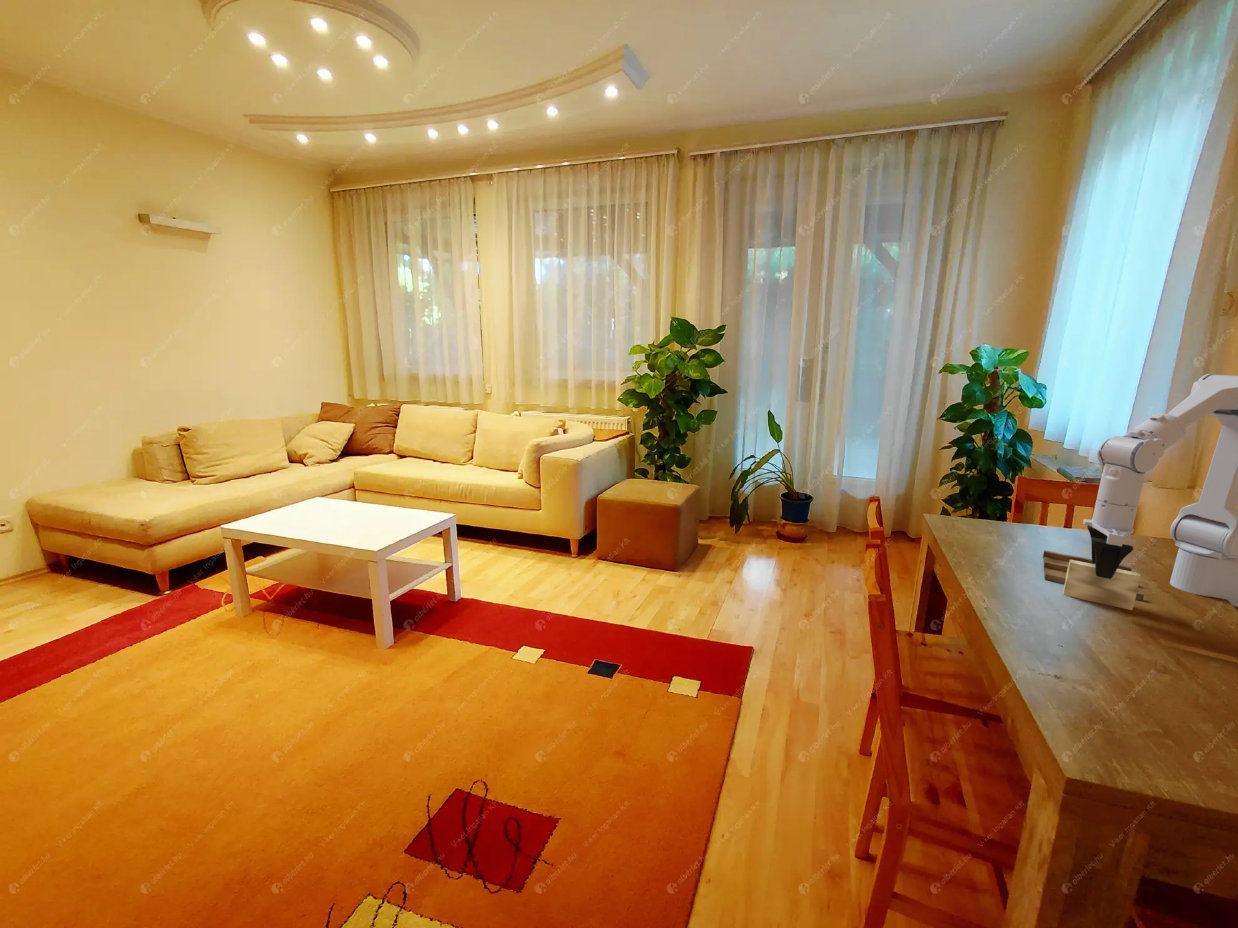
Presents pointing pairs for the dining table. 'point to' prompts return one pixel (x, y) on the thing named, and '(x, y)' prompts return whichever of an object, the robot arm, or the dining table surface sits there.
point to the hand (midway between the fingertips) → (1101, 570)
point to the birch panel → (1101, 585)
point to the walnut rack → (1059, 562)
